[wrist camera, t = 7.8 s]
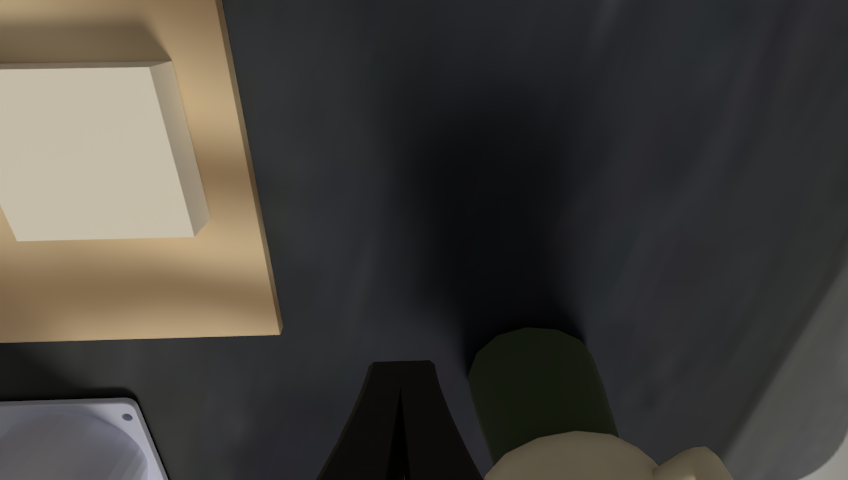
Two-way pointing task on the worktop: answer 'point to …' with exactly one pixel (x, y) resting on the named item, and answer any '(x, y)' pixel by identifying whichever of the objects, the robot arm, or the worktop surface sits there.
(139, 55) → the wooden cutting board
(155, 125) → the tile
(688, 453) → the character mug
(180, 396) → the worktop surface
